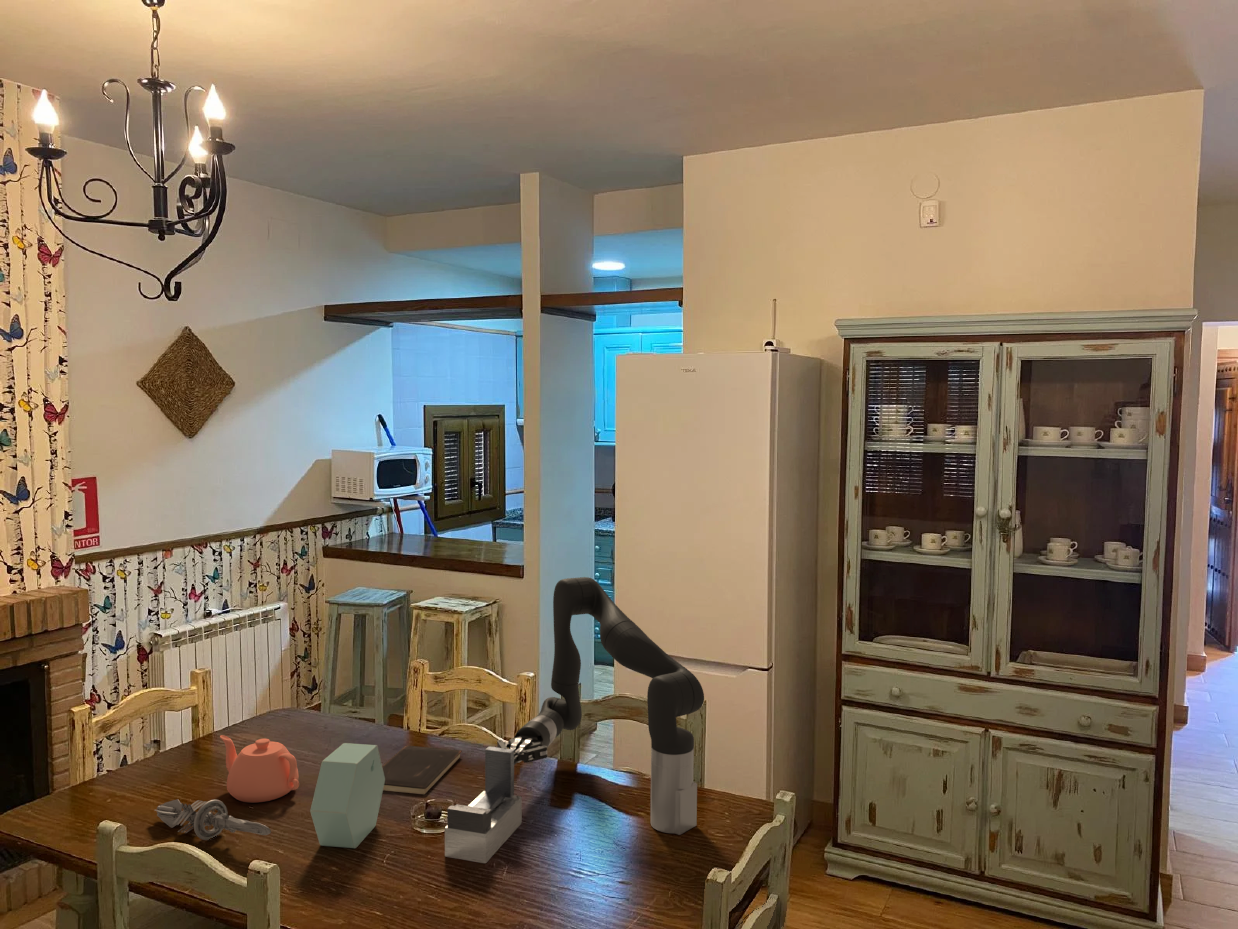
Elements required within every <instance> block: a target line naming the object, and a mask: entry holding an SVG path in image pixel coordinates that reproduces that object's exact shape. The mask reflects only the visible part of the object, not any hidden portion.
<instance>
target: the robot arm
mask: <svg viewBox="0 0 1238 929" xmlns="http://www.w3.org/2000/svg"><path fill="white" fill-rule="evenodd" d="M552 608H553V609H552V611H553V614H552V615H553V616H552V617H553V637H554V638H553V639H554V640H553V641H554V652H553V653H554V654H553V665H552V671H551V680H550V688H551V689H552V691H553V692H554V693H556V694H558V695H560V696H562V698H563V699H562V698H559V697H555V696H554V697H553V696H551V697H548V698H546V699H545V700H544V701H543V702H542V705H541V709H540V711H539V713H538V715H536V716H535V717H533V718H532V719H530V720H529V721H528V722H526V724H524V725H523V726H522V727H521V728H519V729H518V730H517V732H516V733H515V735H514V737H513V738H511V739H509V740H508V741H507V742H506V741H503V740H502V739H499V740H498V739H497V742H496V743H497V744H496V745H497V746H496V748H504V749H512V750H514V766H515V765H516V764H518V763H521V762H523V763H524V764H527V763H532V762H535V761H539V760H543V759H547V758H548V748H549V747H550V745H551V744H552V743H553V742H554V741H555V739H556V738H557V737H558V736H559V735H560V734H561V733H562V732H563V730H566V731H574V730H575V729H577V728H578V727H579V726H580V724H581V721H582V715H583V714H582V713H583V712H582V711H583V710H582V705H581V698H580V692H579V691H580V689H579V686H580V685H579V683H580V675H581V666H582V661H581V656H580V651H579V649H578V647H577V645H576V643H575V640H574V638H573V635H572V633H571V622H572V616H576V615H577V616H578V615H590V616H591V617H593V618H594V619H595V620H596V621H597V622H598V623H599V625H600V626H599V638H600V642H601V645H602V647H603V649H604V650H605V651H606V652H607V653H608V654H609V655H610V657H612V658H613V660H615V661H616V662H617V663H618V664H620V666H623V667H625V668H627V669H629V670H630V671H633V672H637V673H638V674H641V675H644V676H646V677H649V678H651V680H650V682H649V683H648V688H647V696H646V697H647V698H646V702H647V720H648V721H647V724H648V727H647V728H648V733H649V737H650V740H651V741H650V742H651V743H650V745H651V746H650V747H651V748H650V756H651V757H650V825H651V827H652V828H653V829H655V830H657V831H658V832H662V833H666V834H676V835H679V836H680V835H682V834H684V833H686V832H688V831H689V830H691V829H692V828H695V827H696V826H698V824H697V818H698V816H697V814H698V813H697V812H698V811H697V810H698V783H697V782H695V781H694V758H695V756H694V754H695V752H694V750H695V748H694V747H695V737H694V735H693V733H692V732H691V731H689V730H688V729H685V728H682V727H679V726H678V724H677V718H678V717H682V716H686V715H690V714H693V713H695V712H697V711H699V710H700V709H702V706H703V705H704V702H705V693H704V689H703V687H702V684H701V683H700V681H699V679H698V678H697V676H695V675H694V674H693V673H692V671H690V670H689V669H688V668H686V667H685V666H683V665H682V664H681V663H680V662H678V661H677V660H675V659H674V658H673V657H671V656H670V655H669V654H667V653H666V652H665V651H664V650H663V649H662V648H661V646H659V645H658V644H657V643H655V642H654V641H653V640H652V638H650V637H649V636H648V635H647V633H645V632H644V631H643V629H641V628H640V627H639V626H638V625H637V624H636V623H635V622H634V621H633V620H632V619H630V617H628V616H627V614H625V613H624V611H623V610H621V609H620V608H619V607H618V606H617V605H616V604H615V602H614V601H613V600H612V598H610V596H609V594H608V593H607V592H606V591H605V590H604V588H603V587H602V586H601V585H600V584H599V583H598V582H597V581H596V580H595V579H593V578H591V577H588V576H587V577H586V576H583V577H570V578H569V577H568V578H562V579H560V580H558V582H557V583H556V585H555V586H554V590H553V599H552Z"/></svg>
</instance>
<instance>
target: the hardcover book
mask: <svg viewBox="0 0 1238 929" xmlns="http://www.w3.org/2000/svg"><path fill="white" fill-rule="evenodd" d="M461 753H463V750H461V749H451V748H450V749H448V748H437V747H429V746H428V747H426V746H417V745H415V746H414V745H405V746H403V747H402V748H401V749H400V750H399V751H397V752H396V753H395V754H394V755H393V756H392V757H390V758H389V759H388V760H386V762H385V763H384V764H382V768H383V772H384V776H385V783H384V788H383V791H387V792H399V793H407V794H408V793H409V794H418V795H425V794H427V792H428V791H429V790H430V789H431V788H432V787H433V786H434V785H435V784H436V783H437V782H439V780H440V779H441V778H442V776H444V774H446V773H447V772H448V771H449V770H450V768H452V766H453V765H454V764H455V763H456V762H457V761H458V760H459V759H460V758H461Z"/></svg>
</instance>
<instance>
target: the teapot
mask: <svg viewBox="0 0 1238 929" xmlns="http://www.w3.org/2000/svg"><path fill="white" fill-rule="evenodd" d="M219 737H220V739H221V740H222V742H223V744H224V745H225V766H226V770H227V772H228V775H227V778H226V790H227V792H228V793H229V794H230V796H232V797H233V798H234V799H236V800H237V801H240V802H243V803H265V802H270V801H273V800H277V799H279V798H282V797H284V796H285V795H288V793H290V792H291V791H296V790H297V789H298V788H299V787H300V781H299V778H300V777H299V769H298V765H297V764H298V763H297V762H298V761H297V759H296V757H295V756H294V755H293V754H291V753H290V751H289V750H288V749H287V747H286V746H285V745H284V744H282V743H281V742H277V741H271V740H270V739H269V738H259V739H256V740H255V742H254V743H251V744H249V745H246V746H245V747H244V748H242V749H240V750H241V751H240V752H239V753H238V754H237V751H236V747H235V744H234V741H233V740H232V739H231V738H230V737H228V736H226V735H224V734H223V735H219Z"/></svg>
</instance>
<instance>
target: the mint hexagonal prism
mask: <svg viewBox="0 0 1238 929" xmlns="http://www.w3.org/2000/svg"><path fill="white" fill-rule="evenodd" d="M379 751H380V750H379V747H378V744H365V743H364V744H363V743H349V742H343V743H342V744H340V745H339V747H337V748H336V749H335V750H334V751H332V752H330V754H329V755H328V756H326V757H325V758H324V759H323V760H322V761H321V765H320V767H319V773H318V777H317V781H316V785H315V788H314V793H313V799H312V802H311V806H310V810H309V812H310V815H311V820H312V822H313V825H314V830H315V833H316V837H317V839H318V844H319V845H320V846H324V847H336V848H346V849H347V848H348V849H357V847H358V846H359V845H360V844H361V843H362V842H363V841H364V840H365V839H366V837H367V836H369V834H370V833H371V832H372V831H373V829H374V828H375V827H376V825H377V821H378V816H379V811H380V807H381V802H382V796H383V791H384V790H383V788H384V783H385V776H384V772H383V768H382V766H383V764H382V761H381V760H382V759H381V756H380V755H381V754H380V752H379Z"/></svg>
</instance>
